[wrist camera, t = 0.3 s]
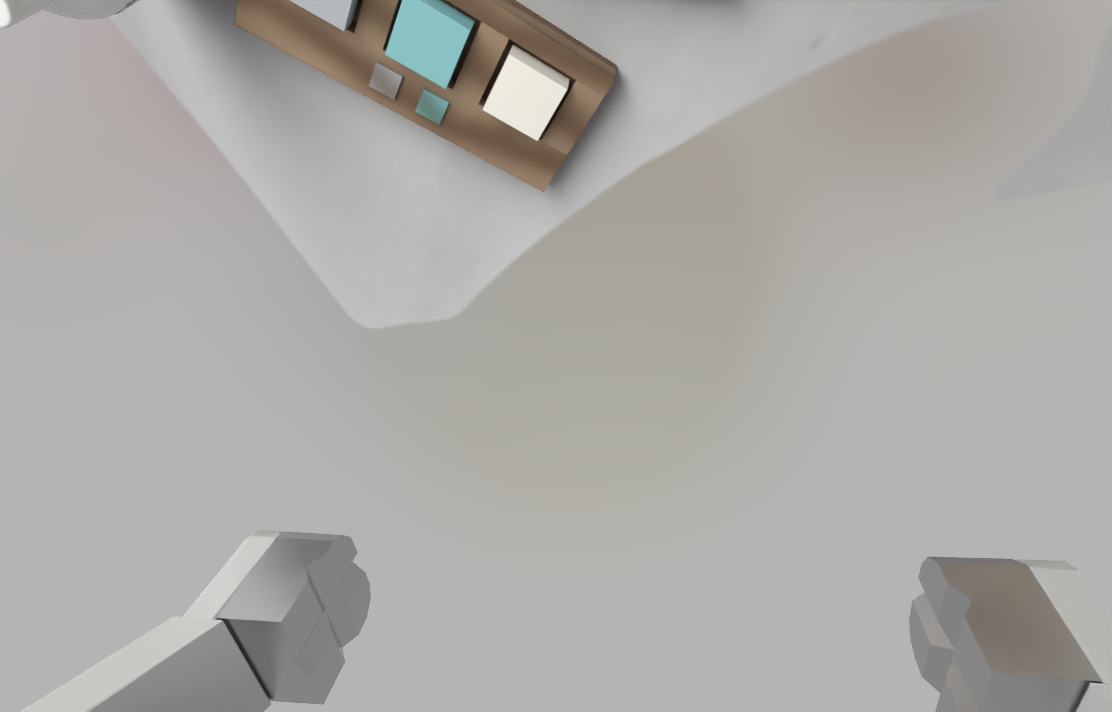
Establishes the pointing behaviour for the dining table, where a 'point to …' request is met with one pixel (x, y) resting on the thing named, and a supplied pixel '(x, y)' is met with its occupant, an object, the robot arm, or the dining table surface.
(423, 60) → the teal key
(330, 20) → the grey key
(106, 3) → the bath foam
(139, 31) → the dining table surface
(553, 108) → the cream key
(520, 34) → the keypad
